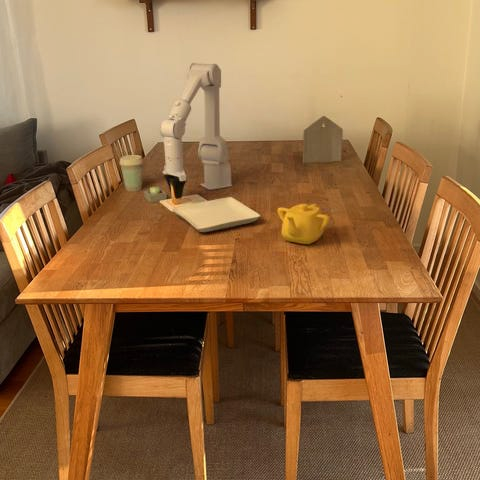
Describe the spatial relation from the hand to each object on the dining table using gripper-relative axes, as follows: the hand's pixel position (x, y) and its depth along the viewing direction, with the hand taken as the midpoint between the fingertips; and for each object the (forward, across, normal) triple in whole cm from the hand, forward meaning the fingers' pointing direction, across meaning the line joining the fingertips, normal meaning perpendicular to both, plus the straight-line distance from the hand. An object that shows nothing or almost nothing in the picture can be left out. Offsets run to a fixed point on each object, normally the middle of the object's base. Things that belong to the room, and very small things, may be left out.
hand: (176, 196), depth 192 cm
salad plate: (+4, +20, +5) cm, 21 cm away
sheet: (+3, 0, +3) cm, 4 cm away
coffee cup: (+3, -25, -7) cm, 26 cm away
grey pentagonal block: (+3, -24, +75) cm, 79 cm away
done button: (+3, -10, -4) cm, 11 cm away
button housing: (+3, -10, -4) cm, 11 cm away
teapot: (+3, +47, +19) cm, 51 cm away
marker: (+2, 0, 0) cm, 2 cm away
